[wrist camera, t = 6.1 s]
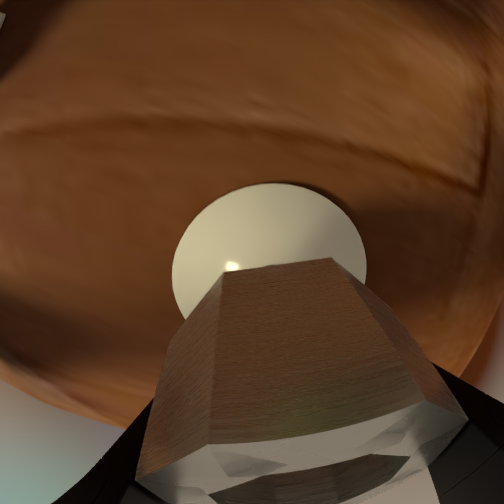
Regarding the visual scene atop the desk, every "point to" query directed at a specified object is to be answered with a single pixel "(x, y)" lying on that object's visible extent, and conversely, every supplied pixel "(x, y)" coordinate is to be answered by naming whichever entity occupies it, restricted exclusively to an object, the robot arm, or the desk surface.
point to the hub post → (262, 237)
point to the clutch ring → (293, 394)
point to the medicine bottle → (2, 18)
